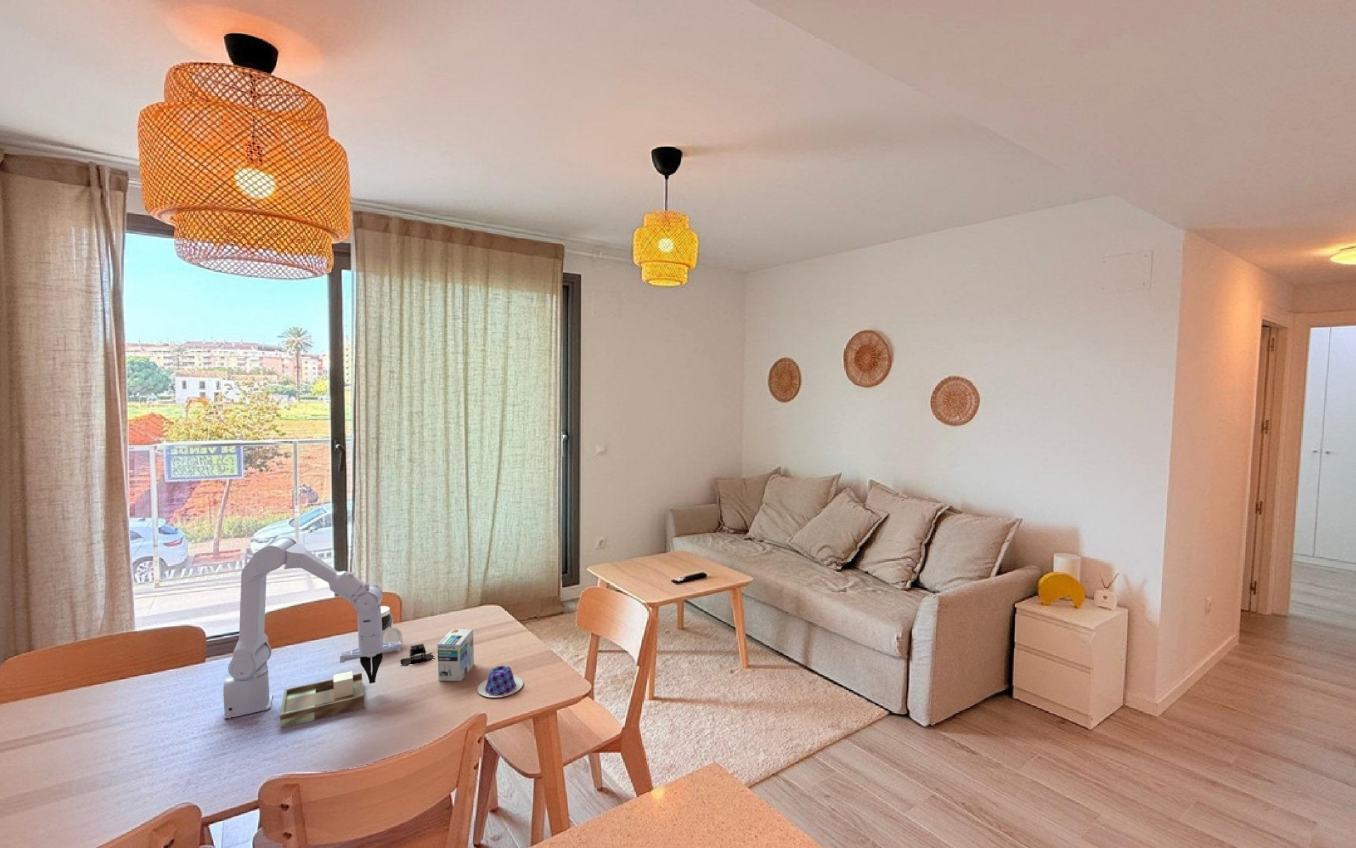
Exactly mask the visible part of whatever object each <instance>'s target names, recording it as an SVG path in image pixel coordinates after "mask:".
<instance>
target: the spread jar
mask: <svg viewBox="0 0 1356 848" xmlns="http://www.w3.org/2000/svg"><path fill="white" fill-rule="evenodd" d="M390 610H391V608H390V606H386V605H382V606H381V615H382V641H383V643H391V642H399V641H400V643H401V645H402V644H403V640H404V639H403V633H402V631H401V630H400V628H398V627H394V618H393V615H392V614H391V613H390V612H391V611H390Z"/></svg>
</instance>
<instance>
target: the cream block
mask: <svg viewBox="0 0 1356 848" xmlns="http://www.w3.org/2000/svg"><path fill="white" fill-rule="evenodd" d="M353 675H354V674H353V670H351V671H346V672H341V673H337V674H333V678H332V679H333V683H334V699H335V698H339V697H344V696H348V695H353Z"/></svg>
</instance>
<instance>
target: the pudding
mask: <svg viewBox="0 0 1356 848" xmlns="http://www.w3.org/2000/svg"><path fill="white" fill-rule="evenodd" d="M485 686H486V688H485ZM523 686H524V681H523V680H522V678H520V677H518V676H516V675H514V674H513V671H512V669H511V667H510V666H506V665H500V666H496V667H494V668H492V669H490V671H489V673H488V677H487V679H485V680H484V681H482V682H481V683H480V684H479V685H478V686H477V691H478V693H479V695H482V697H483V696H484V697H487V698H502V697H506V696H510V695H513V694H514V693H516V692H518V691H519V690H520V689H521V688H522V687H523ZM484 688H485V690H484ZM484 691H485V692H484ZM485 693H487V694H485ZM504 693H505V695H504ZM507 693H508V694H507ZM489 694H490V695H494V694H495V695H496V694H497V695H502V694H503V695H504V696H489Z"/></svg>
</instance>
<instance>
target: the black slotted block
mask: <svg viewBox="0 0 1356 848" xmlns="http://www.w3.org/2000/svg"><path fill="white" fill-rule="evenodd" d="M424 645H425V644H424V643H420V644H415V645H410V648H409V651H408V654H409V657H405V658H400V659H401V660H400V659H399V661H400V667H401V666H404V667H408V665H409V664H413V665H417V664H422V663H426V662H432V661H433V660H432V659H435V660H436V657H435V655H434V656H433V655H431V654H432V653H433V652H429V653H427V651H426V647H425V646H424ZM433 657H435V658H433ZM431 660H432V661H431ZM401 664H402V665H401ZM409 666H410V665H409Z"/></svg>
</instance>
